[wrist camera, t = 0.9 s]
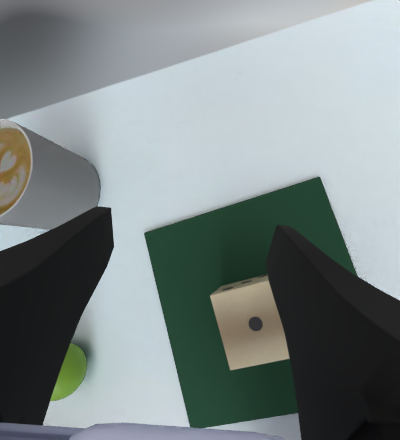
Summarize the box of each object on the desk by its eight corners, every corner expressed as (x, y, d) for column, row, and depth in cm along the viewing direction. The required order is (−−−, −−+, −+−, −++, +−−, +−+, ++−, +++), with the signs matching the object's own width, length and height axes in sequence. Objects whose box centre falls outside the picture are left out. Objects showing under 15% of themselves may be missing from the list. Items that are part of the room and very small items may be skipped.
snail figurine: (68, 400, 30) (-51, 492, 19) (51, 346, 32) (-70, 401, 20) (106, 383, 30) (7, 468, 18) (87, 328, 31) (-17, 375, 19)
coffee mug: (95, 147, 34) (29, 105, 24) (104, 222, 32) (36, 209, 22) (11, 171, 36) (-79, 143, 27) (15, 242, 35) (-79, 238, 25)
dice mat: (400, 393, 23) (403, 396, 23) (191, 427, 27) (190, 430, 27) (318, 177, 27) (319, 176, 27) (145, 233, 31) (143, 233, 30)
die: (296, 331, 25) (307, 355, 20) (237, 344, 27) (230, 371, 21) (277, 270, 27) (281, 276, 21) (220, 285, 28) (209, 295, 22)
